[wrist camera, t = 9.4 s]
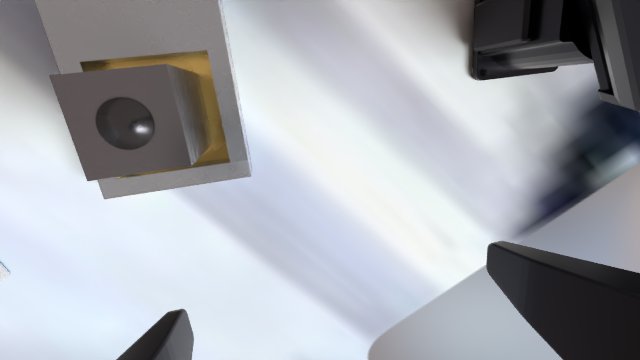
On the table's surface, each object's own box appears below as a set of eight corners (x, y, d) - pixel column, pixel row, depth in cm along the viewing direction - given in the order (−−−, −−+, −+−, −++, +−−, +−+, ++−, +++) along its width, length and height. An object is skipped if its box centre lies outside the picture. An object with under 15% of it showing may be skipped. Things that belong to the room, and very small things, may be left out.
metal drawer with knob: (198, 73, 17) (165, 63, 11) (213, 143, 18) (191, 166, 12) (122, 81, 16) (47, 75, 11) (143, 152, 18) (86, 181, 12)
